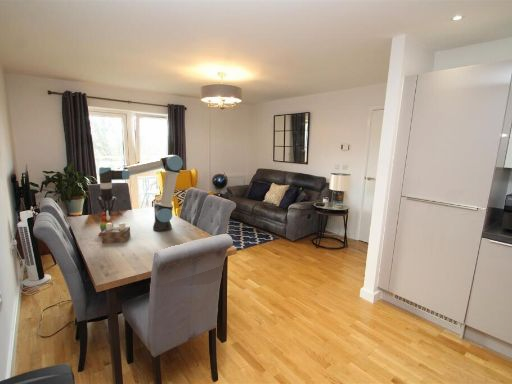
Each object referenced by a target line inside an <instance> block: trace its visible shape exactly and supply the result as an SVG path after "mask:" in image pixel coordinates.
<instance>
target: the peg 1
mask: <svg viewBox="0 0 512 384" xmlns="http://www.w3.org/2000/svg"><path fill="white" fill-rule="evenodd" d="M113 227H114V226H113ZM113 227H112V223H107V224H106V229H107V231H112V230H113Z"/></svg>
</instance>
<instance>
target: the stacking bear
mask: <svg viewBox="0 0 512 384" xmlns="http://www.w3.org/2000/svg"><path fill="white" fill-rule="evenodd" d="M111 216H112V215H110V220H107V216H106V215H105V211H103V212H101V213H100V218H101V220H100V223H99V229H100V232H99V233H98V237H102V235H101V232H103V231H104V230H105V229H106V224H107V223H112V227H114V223H113V220H112V219H111Z"/></svg>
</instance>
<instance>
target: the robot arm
mask: <svg viewBox="0 0 512 384" xmlns="http://www.w3.org/2000/svg"><path fill="white" fill-rule="evenodd" d="M183 162H184V161H183V159H182V158H181V156H179V155H177V154H169V155H166V156H162V157H159V159H155V160H151V161H145V162H141V163H137V164H132V165H129V166H124V167H118V168H117V169H112V168H111V166H100V167H99V168H98V172H99V173H98V177H99V187H100V196H99V197H97V198H96V200H97V201H98V203H99V206H100V208H101V212H102V211H103V212H105V215H106V216H107V220H110V219H111V217H110V216H112V211H113V210H114V209H115V205H116V201H117V199H118V198H117V197H115V196H114V194H113V181H117V180H118V181H121V180H122V181H125V180H130V178H131V177H132V176H134V175H135V176H136V175H140V174H143V173H148V172H151V171H157V170H160V169H163V170H164V171H165V178H164V183H163V188H162V194H161V197H160V198H161V199H160V202H156V203H155V202H154V204H153V205H154V206H153V207H154V208H153V209H154V221H153V226H152V230H153V231H155V232H166V231H169V230H171V229H172V228H173V227H172V223H171V220H172V218H173V209H174V205H173V204H172V203H173V198H174V193H175V188H176V183H177V179H178V175H179V174H180V173H181V169H182V167H183V165H184V163H183ZM130 176H131V177H130Z"/></svg>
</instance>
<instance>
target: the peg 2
mask: <svg viewBox="0 0 512 384" xmlns="http://www.w3.org/2000/svg"><path fill="white" fill-rule="evenodd" d="M118 225H119V226H118V227H119V229H120V230H125V227H126V222H119V223H118Z"/></svg>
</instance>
